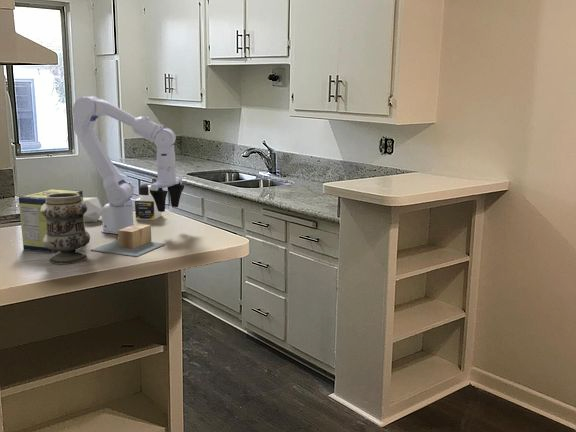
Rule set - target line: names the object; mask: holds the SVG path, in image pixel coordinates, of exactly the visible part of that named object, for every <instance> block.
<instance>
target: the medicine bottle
mask: <svg viewBox="0 0 576 432" xmlns="http://www.w3.org/2000/svg"><path fill="white" fill-rule="evenodd" d="M151 184H152V183H143V184H141V185H139V186H138V198H136V199H135V200H134V208H135V209H134V212H135V213H134V214H135V220H139V221H140V220H141V221H142V220H143V221H155V220H157V219H159V218H160V217H162V216H163V212H159V211H158V209H157V206H156V203H155V200H154V198H153V196H152V195H151V193H150V189H151Z"/></svg>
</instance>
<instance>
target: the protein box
mask: <svg viewBox="0 0 576 432" xmlns="http://www.w3.org/2000/svg"><path fill="white" fill-rule="evenodd" d="M69 192H70V193H78V194H79V195H80V198H81V201H83V198H84V196H83V190H75V189H74V190H73V189H63V188H52V189H49V190H45V191H41V192H37V193H32V194H28V195H23V196H19V197H18V207H19V217H20V225H21V236H22V237H21V238H22V246H23V247H22V249H23V250H24V251H32V252H33V251H34V252H43V253H55V252H56V251H54V250H51V249H48V248H47V247H46V246H45V245H44V244H43V237H44V236H45V235H46V234H47V222H46V217H45V216H43V215H42V214H41V207H42V205H43V204H45V203H46V196H47V195H49V194H54V193H69ZM83 220H84V214H83ZM85 223H86V222H85V220H84V228H85V229H86V224H85Z"/></svg>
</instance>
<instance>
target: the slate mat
mask: <svg viewBox="0 0 576 432" xmlns="http://www.w3.org/2000/svg"><path fill="white" fill-rule="evenodd" d="M166 245H167V244H166V243H163V242H155V241H151V242H148V243H146V244H143V245H141V246H138V247H136V248H133V249H132V248H124V247H119V239H116V240H113V241H111V242H108V243H105V244H102V245H100V246H96V247H94V248H91V249H90V251H91V252H99V253H103V254H104V253H106V254H113V255H120V256H126V257H127V256H128V257H134V258H135V257H136V258H138V257H140V256H142V255H145V254H147V253H149V252H151V251H153V250H156V249H159V248H160V247H163V246H166Z"/></svg>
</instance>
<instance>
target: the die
mask: <svg viewBox="0 0 576 432" xmlns="http://www.w3.org/2000/svg"><path fill="white" fill-rule="evenodd" d="M83 202H84V203H85V204H86V205H87V211H86V213H84V220H85V223H86V222H87V223H90V222H91V223H92V222H93V223H95V222H97V221H98V220H99V219H100V217H102V209H103V206H102V204H101V202H100V199H99V197H83Z"/></svg>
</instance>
